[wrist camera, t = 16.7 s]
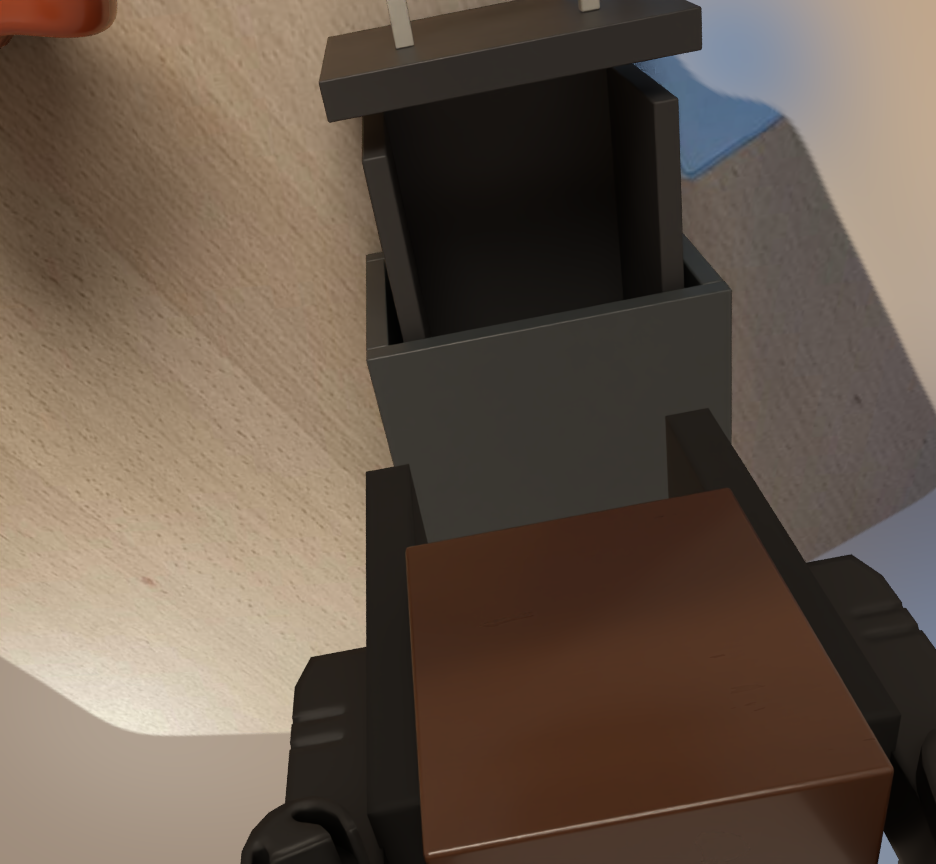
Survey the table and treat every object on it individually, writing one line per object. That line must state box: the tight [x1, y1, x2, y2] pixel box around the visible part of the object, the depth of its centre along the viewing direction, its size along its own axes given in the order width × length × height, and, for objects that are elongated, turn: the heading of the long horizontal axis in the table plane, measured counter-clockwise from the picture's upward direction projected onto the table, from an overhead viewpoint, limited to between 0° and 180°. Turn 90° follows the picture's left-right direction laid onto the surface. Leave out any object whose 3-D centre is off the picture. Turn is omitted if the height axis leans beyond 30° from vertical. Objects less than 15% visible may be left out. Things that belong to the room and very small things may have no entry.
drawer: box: [319, 0, 702, 343], centre depth 31 cm, size 18×11×8 cm, turn 9°
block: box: [405, 488, 894, 864], centre depth 11 cm, size 4×4×4 cm
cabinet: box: [366, 233, 732, 543], centre depth 38 cm, size 15×13×10 cm
